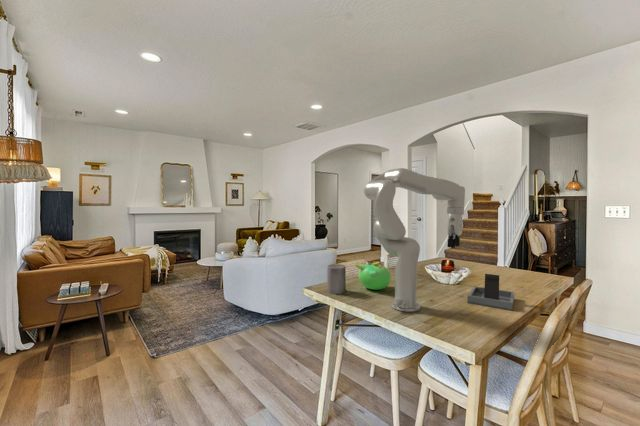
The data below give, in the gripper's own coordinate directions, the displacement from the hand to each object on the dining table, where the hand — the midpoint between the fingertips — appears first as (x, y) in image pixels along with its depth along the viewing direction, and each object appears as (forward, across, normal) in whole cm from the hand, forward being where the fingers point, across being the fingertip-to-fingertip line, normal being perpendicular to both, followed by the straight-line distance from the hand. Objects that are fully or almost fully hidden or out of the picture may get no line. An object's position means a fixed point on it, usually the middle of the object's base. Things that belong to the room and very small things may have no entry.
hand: (453, 246), depth 148 cm
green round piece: (+27, -6, +38) cm, 47 cm away
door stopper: (+25, +10, -16) cm, 31 cm away
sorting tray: (+25, +10, -16) cm, 32 cm away
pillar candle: (+28, -23, +52) cm, 63 cm away
